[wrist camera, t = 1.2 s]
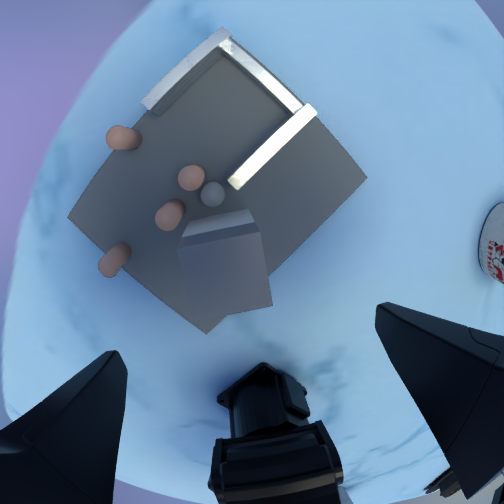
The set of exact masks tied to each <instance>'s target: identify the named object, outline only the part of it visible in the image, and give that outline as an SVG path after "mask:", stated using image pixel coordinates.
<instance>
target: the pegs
mask: <svg viewBox="0 0 504 504" xmlns="http://www.w3.org/2000/svg"><path fill="white" fill-rule="evenodd" d="M141 142H142V136H141V133H140V132H139V131H137V130H135V129H131V128H127V127H124V126H119V125H117V126H114V127H112V128H111V129H109V131H108V132H107V134H106V143H107V145H108V146H109V147H110V148H111V149H115V150H134V149H136V148H138V147H139V146H140V144H141ZM205 178H206V171H205V169H204V168H203V167H202V166H201V165H198V164H193V165H189V166H186V167H184V168H183V169H182V170H181V171H180V172H179V175H178V182H179V185H180V186H181V187H182V188H183V189H185V190H187V191H193V190H196V189H198V188H199V187H200V186H201V184H202V183H203V182H204V180H205ZM224 197H225V192H224V187H223V185H222V184H221V183H220V182H219V181H215V180H212V181H209V182H207V183H206V184H205V186H204V187H203V189H202V191H201V199H202V201H203V203H204V204H206V205H207V206H210V207H215V206H218V205H220V204H221V203H222V202H223V200H224ZM184 214H185V205H184V203H183V202H182V201H181V200H179V199H171V200H169V201H168V202H167V203H166V204H165V205H164V206H163V207H161V208H160V209H159V210H158V211H157V213H156V215H155V222H156V224H157V226H158V227H159V228H160V229H162V230H164V231H171V230H173V229H175V228H176V227H177V225H178V223H179V222H180V220H181V219H182V217H183V215H184ZM130 256H131V248H130V247H129V245H128V244H126V243H124V242H119V243H117V244H116V245H115V246H114V247H113V248H112V249H111V250H109V251H108V252H107V253H106V254H105V255H104V256H103V257H102V258H101V259H100V260H99V263H98V268H99V271H100V272H101V274H102V275H104V276H105V277H108V278H111V277H114V276H115V275H116V274H117V273H118V272H119V270H120V269H121V268H122V267H123V265H124V264H125V263H126V262H127V260H128V259H129V258H130Z"/></svg>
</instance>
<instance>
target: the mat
mask: <svg viewBox="0 0 504 504" xmlns="http://www.w3.org/2000/svg"><path fill="white" fill-rule="evenodd" d="M231 41H232V42H233V43H235V44H236V45H237V46H238V47H239V48H241V49H242V50H243V51H244V52H245V53H247V54H248V55H249V56H250V57H251V58H253V59H254V60H255V61H256V62H257V63H258V64H259V65H261V66H262V67H263V68H264V69H265V70H266V71H267V72H268V73H269V74H270V75H272V76H273V77H274V78H275V79H276V80H277V81H278V82H279V83H280V84H281V85H282V86H283V87H284V88H285V89H286V90H287V91H288V92H289V93H290V94H291V95H292V96H293V97H294V98H295V99H296V100H297V101H298V102H299V103H300V104H301V105H302V106H304V104H303V103H302V101H301V100H300V99H299V98H298V97H297V96H296V95H295V94H294V93H293V92H292V91H291V90H290V89H288V88H287V87H286V86H285V85H284V84H283V83H282V82H281V81H280V80H279V79H278V78H277V77H276V76H275V75H274V74H273V73H272V72H271V71H269V70H268V69H267V68H266V67H265V66H264V65H263V64H262V63H260V62H259V61H258V60H257V59H256V58H255V57H254V56H252V55H251V54H250V53H249V52H248V51H247V50H245V49H244V48H243V47H242V46H241V45H239V44H238V43H237V42H236V41H234V40H233V39H232V40H231ZM288 116H289V114H288V113H287V112H286V111H285V110H284V109H283V108H282V107H281V106H280V105H279V104H278V103H277V102H276V101H275V100H274V99H273V98H272V97H271V96H270V95H269V94H268V93H267V92H266V91H264V90H263V89H262V88H261V87H260V86H259V85H258V84H257V83H256V82H255V81H254V80H252V79H251V78H250V77H249V76H248V75H247V74H246V73H245V72H243V71H242V70H241V69H240V68H239V67H238V66H237V65H235V64H234V63H233V62H232V61H231V60H229V59H228V58H227V57H226V56H224V57H223V58H222V59H220V60H219V61H218V62H217V63H216V64H215V65H213V66H212V67H211V68H210V69H209V70H208V71H207V72H205V73H204V74H203V75H202V76H201V77H200V78H199V79H198V80H197V81H196V82H195V83H194V84H192V85H191V86H190V87H189V88H188V89H187V90H186V91H185V92H184V93H183V94H182V95H181V96H180V97H179V98H178V99H177V100H176V101H175V102H174V103H173V104H172V105H171V106H170V107H169V108H168V109H167V110H166V111H165V112H164V114H163V115H162V116H161V117H160V116H158V115H156V114H155V113H153V112H152V111H150V110H148V111H147V112H146V113H145V114H144V115H143V116H142V117H141V118H140V120H139V121H138V122H137V123H136V124H135V125H134V126H133V128H132V129H135V130H137V131H139V132H140V133H141V136H142V142H141V144H140V146H139V147H138V148H136V149H134V150H114V151H113V152H112V153H111V155H110V156H109V157H108V159H107V160H106V161H105V163H104V164H103V165H102V167H101V168H100V169H99V171H98V172H97V173H96V175H95V176H94V178H93V179H92V180H91V182H90V183H89V185H88V186H87V188H86V189H85V191H84V192H83V194H82V195H81V197H80V198H79V200H78V201H77V203H76V204H75V206H74V207H73V209H72V211H71V212H70V214H69V215H68V217H67V218H68V219H69V220H70V221H71V222H73V223H74V224H75V225H76V226H77V227H78V228H79V229H80V230H81V231H82V232H83V233H84V234H85V235H86V236H87V237H88V238H89V239H90V240H91V241H92V242H94V243H95V244H96V245H97V246H98V247H99V248H100V249H101V250H102V251H103V252H104V253H107V252H108V251H109V250H111V249H112V248H113V247H114V246H115V245H116V244H117V243H119V242H124V243H126V244H128V245H129V247H130V248H131V256H130V258H129V259H128V260H127V262H126V263H125V264H124V265H123V267H122V268H123V269H124V270H125V271H126V272H127V273H128V274H130V275H131V276H132V277H133V278H134V279H136V280H137V281H138V282H139V283H140V284H142V285H143V286H144V287H145V288H146V289H148V290H149V291H150V292H151V293H153V294H154V295H155V296H156V297H158V298H159V299H160V300H161V301H163V302H164V303H165V304H166V305H168V306H169V307H170V308H172V309H173V310H174V311H175V312H177V313H178V314H179V315H181V316H182V317H183V318H185V319H186V320H187V321H189V322H190V323H191V324H193V325H194V326H195V327H197V328H198V329H200V330H201V331H202V332H204V333H205V334H207V333H208V332H210V331H211V330H212V329H213V328H214V327H215V326H216V325H217V324H218V323H219V322H220V321H221V320H223V319H224V318H225V317H226V316H227V315H225V316H220V317H215V318H209V319H204V320H198V321H197V318H196V315H195V312H194V309H193V306H192V302H191V299H190V296H189V293H188V289H187V286H186V283H185V279H184V276H183V272H182V269H181V265H180V262H179V258H178V255H177V251H176V248H177V246H178V244H179V242H180V239H181V237H182V235H183V233H184V231H185V229H186V227H187V225H188V222H189V221H191V220H195V219H200V218H205V217H209V216H214V215H219V214H223V213H228V212H233V211H238V210H243V209H249V211H250V213H251V215H252V217H253V219H254V221H255V223H256V225H257V227H258V229H259V231H260V235H261V240H262V246H263V251H264V257H265V263H266V269H267V274H268V276H269V275H270V274H271V273H272V272H273V271H274V270H275V269H276V268H278V267H279V266H280V265H281V264H282V263H283V262H284V261H285V260H286V259H287V258H288V257H289V256H290V255H291V254H292V253H293V252H294V251H295V250H296V249H297V248H298V247H299V246H300V245H301V244H302V243H303V242H304V241H305V240H306V239H307V238H308V237H309V236H310V235H311V234H312V233H313V232H314V231H315V230H316V229H317V228H318V227H319V226H320V225H321V224H322V223H323V222H324V221H325V220H326V219H327V218H328V217H329V216H330V215H331V214H332V213H333V212H334V211H335V210H336V209H337V208H338V207H339V206H340V205H341V204H342V203H343V202H344V201H345V200H346V199H347V198H348V197H349V196H350V195H351V194H352V193H353V192H354V191H355V190H356V189H357V188H358V187H359V186H360V185H361V184H362V183H363V182H364V181H365V180H366V179H367V176H366V175H365V174H364V172H363V171H362V170H361V169H360V167H359V166H358V165H357V164H356V162H355V161H354V160H353V159H352V157H351V156H350V155H349V154H348V153H347V151H346V150H345V149H344V148H343V147H342V145H341V144H340V143H339V142H338V141H337V140H336V138H335V137H334V136H333V135H332V134H331V133H330V132H329V130H328V129H327V128H326V127H325V126H324V125H323V124H322V123H321V122H320V120H319V119H318V118H317V117H316V116H314V117H313V118H312V119H311V120H310V121H309V122H308V123H306V124H305V125H304V126H303V127H302V128H301V129H300V130H299V131H298V132H297V133H296V134H295V135H294V136H293V137H291V138H290V139H289V140H288V141H287V142H286V143H285V144H284V145H283V146H282V147H281V148H280V149H279V150H278V151H277V152H276V153H275V154H274V155H273V156H272V157H271V158H270V159H269V160H268V161H267V162H266V163H265V164H264V165H263V166H262V167H261V168H260V169H259V170H257V171H256V172H255V173H254V174H253V175H252V176H251V177H250V178H249V179H248V181H247V182H246V183H245V184H244V185H243V186H242V187H241V188H240V189H239V190H236V189H235V188H234V187H233V186H232V185H231V184H230V183H229V182H228V181H227V178H226V177H227V176H228V174H229V173H230V172H231V171H232V170H233V169H234V168H235V167H236V166H237V165H238V164H239V163H240V162H241V161H242V160H243V159H244V158H245V157H246V156H247V155H248V154H249V153H250V152H251V151H252V150H253V149H254V148H256V147H257V146H258V145H259V144H260V143H261V142H262V141H263V140H264V139H265V138H266V137H267V136H268V135H269V134H270V133H271V132H272V131H273V130H274V129H275V128H276V127H278V126H279V125H280V124H281V123H282V122H283V121H284V120H285V119H286V118H287V117H288ZM193 164H198V165H201V166H202V167H203V168H204V169H205V171H206V178H205V180H204V182H203V183H202V184H201V186H200V187H199V188H198V189H196V190H193V191H187V190H185V189H183V188H182V187H181V186H180V185H179V182H178V175H179V172H180V171H181V170H182V169H183V168H184V167H186V166H189V165H193ZM212 180H215V181H219V182H220V183H221V184H222V185H223V187H224V192H225V197H224V200H223V202H222V203H221V204H220V205H218V206H215V207H210V206H207V205H206V204H204V203H203V201H202V199H201V191H202V189H203V187H204V186H205V184H206V183H207V182H209V181H212ZM171 199H179V200H181V201H182V202H183V203H184V205H185V214H184V215H183V217H182V219H181V220H180V222H179V223H178V225H177V227H176V228H175V229H173V230H171V231H164V230H162V229H160V228H159V227H158V226H157V224H156V222H155V215H156V213H157V211H158V210H159V209H160V208H161V207H163V206H164V205H165V204H166V203H167V202H168V201H169V200H171Z"/></svg>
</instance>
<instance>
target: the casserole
mask: <svg viewBox="0 0 504 504" xmlns="http://www.w3.org/2000/svg"><path fill="white" fill-rule="evenodd" d="M439 488H440V492H441V493H440V496H443V497H445V498H446V497H449V496H451V495H452V494H454V493H456V492H457V491H459V490H460V489H461V487H460V485H459V483H458V481H457V479H456V477H455V475H454V473H453V471H452V469H450V470H448V471H447V472H446V473H445V474H444V475H443V476H442V477H441V478H440V480H439V481H438V482H437V483H436V484H435V485H434V486H432V487H431V488H430V489H429V490H427V491H426V494H428V493H431V492H434V491H436V490H437V489H439Z"/></svg>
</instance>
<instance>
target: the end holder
mask: <svg viewBox="0 0 504 504" xmlns="http://www.w3.org/2000/svg"><path fill="white" fill-rule="evenodd" d="M231 40H232V34H231V33H230V32H229V31H228V30H226V29H225V28H224V27H221V28H220V29H218V30H217V31H216V32H214V33H213V34H212V35H211V36H209V37H208V38H207V39H206V40H204V41H203V42H202V43H201V44H200V45H198V46H197V47H196V48H195V49H194V50H193V51H191V52H190V53H189V54H188V55H187V56H186V57H185V58H184V59H182V60H181V61H180V62H179V63H178V64H177V65H176V66H175V67H174V68H173V69H172V70H171V71H170V72H169V73H167V74H166V75H165V76H164V77H163V78H162V79H161V80H160V81H159V82H158V83H157V84H156V85H155V86H154V87H153V88H152V89H151V91H150V92H149V93H148V94H147V95H146V96H145V97H144V98H143V99H142V100H141V101H140V102H141V103H142V104H143V105H144V106H145V107H146V108H147V109H149V110H150V111H152V112H153V113H155V114H156V115H158V116H160V117H161V116H162V115H163V114H164V112H165V111H166V110H167V109H168V108H169V107H170V106H171V105H172V104H173V103H174V102H175V101H176V100H177V99H178V98H179V97H180V96H181V95H182V94H183V93H184V92H185V91H186V90H187V89H188V88H189V87H190V86H191V85H192V84H194V83H195V82H196V81H197V80H198V79H199V78H200V77H201V76H202V75H203V74H204V73H205V72H207V71H208V70H209V69H210V68H211V67H212V66H213V65H215V64H216V63H217V62H218V61H219V60H220V59H222V58H223V57H224V56H226V57H227V58H228V59H229V60H231V61H232V62H233V63H234V64H235V65H237V66H238V67H239V68H240V69H241V70H242V71H243V72H245V73H246V74H247V75H248V76H249V77H250V78H251V79H252V80H254V81H255V82H256V83H257V84H258V85H259V86H260V87H261V88H262V89H263V90H264V91H266V92H267V93H268V94H269V95H270V96H271V97H272V98H273V99H274V100H275V101H276V102H277V103H278V104H279V105H280V106H281V107H282V108H283V109H284V110H285V111H286V112H287V113H288V114H289V116H288V117H287V118H286V119H285V120H284V121H283V122H282V123H281V124H280V125H279V126H278V127H276V128H275V129H274V130H273V131H272V132H271V133H270V134H269V135H268V136H267V137H266V138H265V139H264V140H263V141H262V142H261V143H260V144H259V145H258V146H257V147H256V148H254V149H253V150H252V151H251V152H250V153H249V154H248V155H247V156H246V157H245V158H244V159H243V160H242V161H241V162H240V163H239V164H238V165H237V166H236V167H235V168H234V169H233V170H232V171H231V172H230V173H229V174H228V176H227V177H226V178H227V181H228V182H229V183H230V184H231V185H232V186H233V187H234V188H235V189H236V190H239V189H240V188H241V187H242V186H243V185H244V184H245V183H246V182H247V181H248V179H249V178H250V177H251V176H252V175H253V174H254V173H255V172H256V171H257V170H259V169H260V168H261V167H262V166H263V165H264V164H265V163H266V162H267V161H268V160H269V159H270V158H271V157H272V156H273V155H274V154H275V153H276V152H277V151H278V150H279V149H280V148H281V147H282V146H283V145H284V144H285V143H286V142H287V141H288V140H289V139H290V138H291V137H293V136H294V135H295V134H296V133H297V132H298V131H299V130H300V129H301V128H302V127H303V126H304V125H305V124H306V123H308V122H309V121H310V120H311V119H312V118H313V117H314V116H315V115H316V114H317V112H316V111H315V110H314V109H313V108H312V107H311V105H310V104H309V103H307V104H305V105H304V106H302V105H301V104H300V103H299V102H298V101H297V100H296V99H295V98H294V97H293V96H292V95H291V94H290V93H289V92H288V91H287V90H286V89H285V88H284V87H283V86H282V85H281V84H280V83H279V82H278V81H277V80H276V79H275V78H274V77H273V76H272V75H270V74H269V73H268V72H267V71H266V70H265V69H264V68H263V67H262V66H261V65H259V64H258V63H257V62H256V61H255V60H254V59H253V58H251V57H250V56H249V55H248V54H247V53H245V52H244V51H243V50H242V49H241V48H239V47H238V46H237V45H236V44H235V43H233V42H232V41H231Z"/></svg>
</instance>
